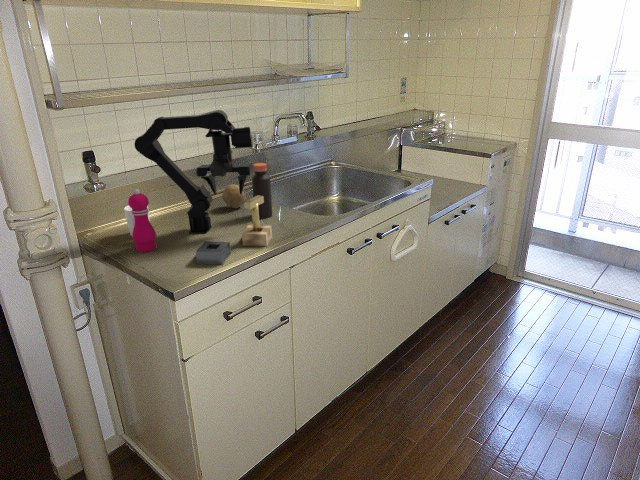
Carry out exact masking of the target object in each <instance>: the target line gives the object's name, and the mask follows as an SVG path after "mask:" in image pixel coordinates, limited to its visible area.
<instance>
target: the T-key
mask: <svg viewBox="0 0 640 480" xmlns="http://www.w3.org/2000/svg"><path fill="white" fill-rule="evenodd" d="M262 203H264V196H260V195H257V196H255V197H251V198H249V199H248V200H247V199H246V200H245V202H244V203H243V204H244V205H243V206H244V209H245V210H251V223H252V224H251V225H253V232H260V225H261V222H260V218H259V209H258V205H260V204H262Z"/></svg>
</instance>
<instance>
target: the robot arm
mask: <svg viewBox="0 0 640 480" xmlns="http://www.w3.org/2000/svg"><path fill="white" fill-rule="evenodd" d="M195 128H197V129H198V128H199V129H204V130H208V132H207V133H206V134H205V135H204V136H205V138H211V141H212V147H213V154H212V161H211V164H201V165H199V166H198V167H197V168H196V170H195V174H196V177H200V178H201V179H203V180H205V182H207V183H208V186H209V187H210V189H211V191H212V192H211V191H210V190H208V189H207V188H206V186H205V185H204V184H201V185H200V186H199V185H197V184H196V183H194V181H192V180H191V178H189V177H188V176H187V175H186V174H185V172H184V171H183V170H181V168H179V167H178V165H177V164H176V163H175V162H174V161H173V160H172V159H171V157H169V156H168V155H167V154H166V153H165V150H164V148H163V146H162V145H161V143H160V142H159V140H158V139H159V138H160V137H161V136H162V134H163V133H164V131H166V130H179V129H180V130H181V129H183V130H184V129H195ZM232 146H233V147H234V148H235V149H249V148H253V146H254V144H253V135H252V131H251V127H250V126H244V127H235V126H234V125H233V123H232V122H231V121H230V120H229V118H228V114H227V113H226V112H225V111H223V110H221V109H215V110H212V111H208V112H205V113H202V114H195V115H194V114H192V115H177V116H159V117H156V118H155V119H154V121H153V123H152V124H151V125H150V127H148V129H147V130H146V131H145V132H144V133H143V134H141V135H140V136H137V138H136V139H135V141H134V148H135V150H136V151H137V152H138V153H139V154H140V155H142V156H143V157H145V158H146V159H148V160H150V161H152V162H154V163H155V164H156V165H157V166H158V167H159V168H160V169H161V170H162V171H163V173H165V174H166V175H167V176H168V177H169V178H170V179H171V180H172V182H174V183H175V184H176V186H177V187H179V189H181V190H182V192H183V193H184V194H185V195H186V197H187V200H188V201H189V204H191V205H190V207H189V209H188V210H187V212H186V214H187V216H188V222H189V229H190V230H188V233H189V234H207V233H208V232H209V231H210V230H211V229H212V221H211V217H210V215H209V212H207V211H208V210H210V207H211V205H212V203H213V197H212V195H211V193H213V195H217V183H216V177H226V176H227V173H237V174H238V175H237V179H238V186H239V191H240V194H242V191H244V187H245V182H246V180H247V178H248V177H249V176H251V174H252V173H254V166H253V165H254V164H253V163H241V164H240V165H239V166H234V165H235V164H234V163H235V162H234V161H233V156H232V154H233V150H232V149H231V148H232Z"/></svg>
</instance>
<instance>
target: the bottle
mask: <svg viewBox="0 0 640 480" xmlns="http://www.w3.org/2000/svg"><path fill="white" fill-rule="evenodd" d="M252 165H253V168H254V171H253V173H254V175H253V176H252V177H251V184H252V185H251V187H252V196H253V197H255V196H257V195H260V196H264V203H262V204H260V205H258V209H259V219H267V218H270V217H272V216H273V201H272V185H271V184H272V183H271V177H270V176H269V174H267V172H268V164H267V163H265V162H259V163H254V164H252ZM253 197H252V198H253Z"/></svg>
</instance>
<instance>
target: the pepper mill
mask: <svg viewBox="0 0 640 480" xmlns="http://www.w3.org/2000/svg"><path fill="white" fill-rule="evenodd" d="M149 203H150V201H149V198H148V196H146V195H145V194H143V193H141V191H140V189H137V188H136V189H134V190H133V194H131V195H130V196H129V198H128V202H127V205H128V206H130V207H131V208H132V210H131V211H132V215H134V218H135V225H134V229H133V234H132V236H133V237H132V236H131V237H132V240H133V241H134V242H135V243H136V244H135V249H136V251H137V252H140V253H146V252H151V251H154V250H155V249H157V242H156V241H155V240H156V237H157V232H156V230H155V227H154V226H153V224H152V223H151V220H150V221H149V219H148V212H149V213H150V211H148V208H149ZM147 206H148V208H147Z"/></svg>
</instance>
